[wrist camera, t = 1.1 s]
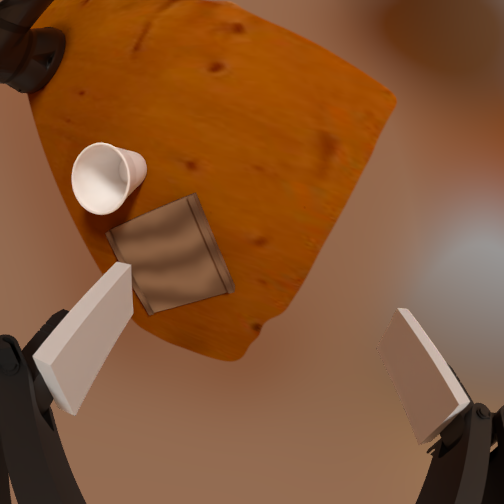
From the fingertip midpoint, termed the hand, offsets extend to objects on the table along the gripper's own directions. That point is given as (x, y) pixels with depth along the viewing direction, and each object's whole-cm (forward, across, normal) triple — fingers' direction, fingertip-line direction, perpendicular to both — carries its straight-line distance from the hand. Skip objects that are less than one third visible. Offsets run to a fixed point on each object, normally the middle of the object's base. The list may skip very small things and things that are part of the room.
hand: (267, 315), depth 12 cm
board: (+33, -13, -14) cm, 38 cm away
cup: (+33, -22, 0) cm, 39 cm away
